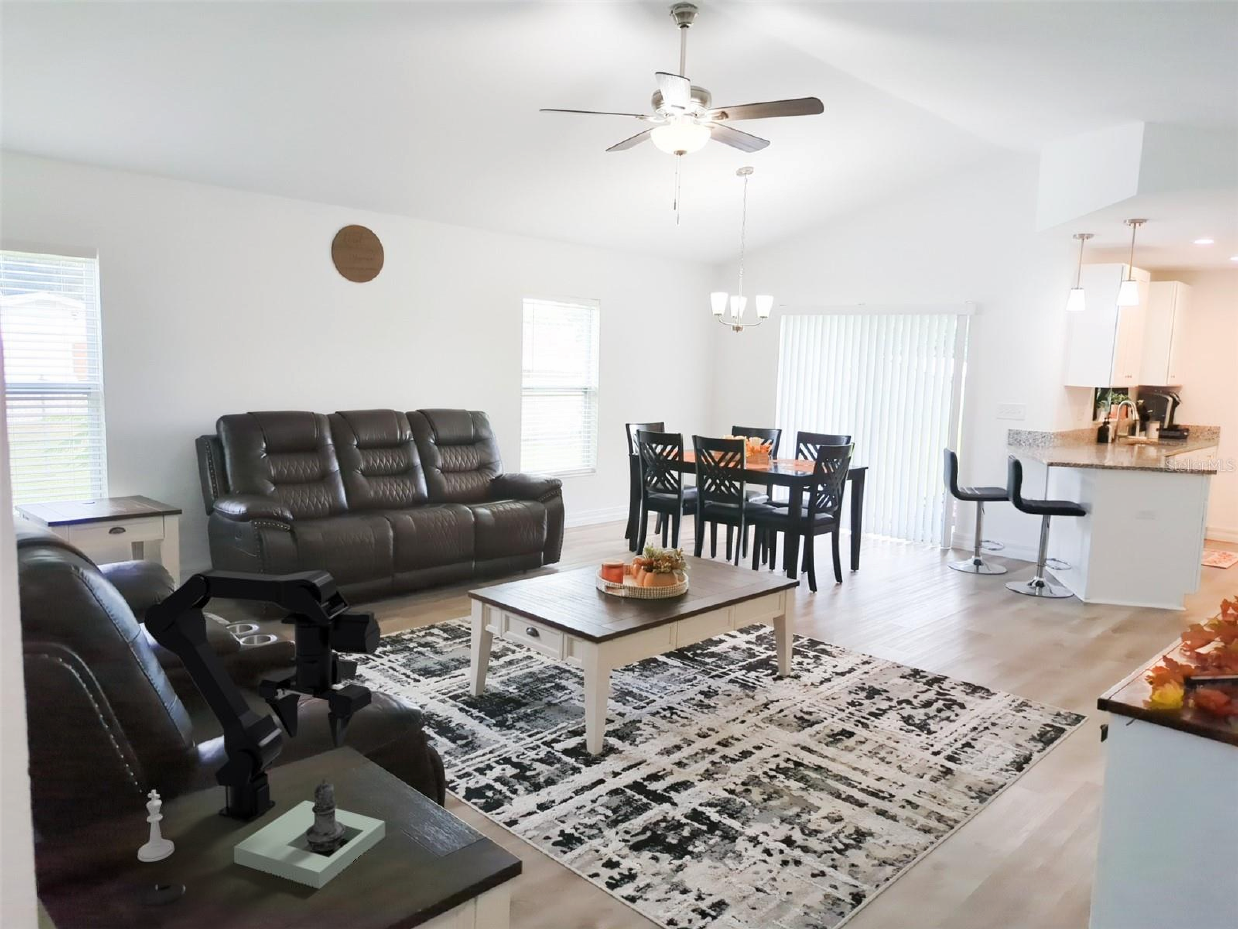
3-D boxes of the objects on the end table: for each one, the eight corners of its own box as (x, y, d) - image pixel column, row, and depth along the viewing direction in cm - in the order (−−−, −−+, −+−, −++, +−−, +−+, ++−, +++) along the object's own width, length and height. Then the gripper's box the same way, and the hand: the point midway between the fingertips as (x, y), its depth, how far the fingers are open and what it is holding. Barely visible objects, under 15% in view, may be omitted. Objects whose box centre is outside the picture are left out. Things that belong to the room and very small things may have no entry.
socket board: (234, 862, 128) (234, 847, 127) (305, 814, 141) (305, 800, 141) (319, 889, 122) (319, 872, 121) (385, 836, 136) (384, 821, 135)
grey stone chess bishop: (352, 852, 131) (351, 778, 129) (317, 868, 127) (315, 792, 125) (333, 838, 135) (332, 766, 133) (298, 853, 130) (296, 778, 129)
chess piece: (158, 864, 127) (155, 800, 126) (130, 859, 128) (127, 796, 127) (181, 846, 132) (179, 784, 130) (154, 841, 133) (151, 781, 131)
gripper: (392, 643, 141) (393, 733, 143) (303, 628, 148) (305, 714, 150) (347, 664, 131) (349, 761, 133) (254, 647, 138) (257, 739, 140)
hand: (315, 742), depth 139 cm, fingers open, 9 cm apart
